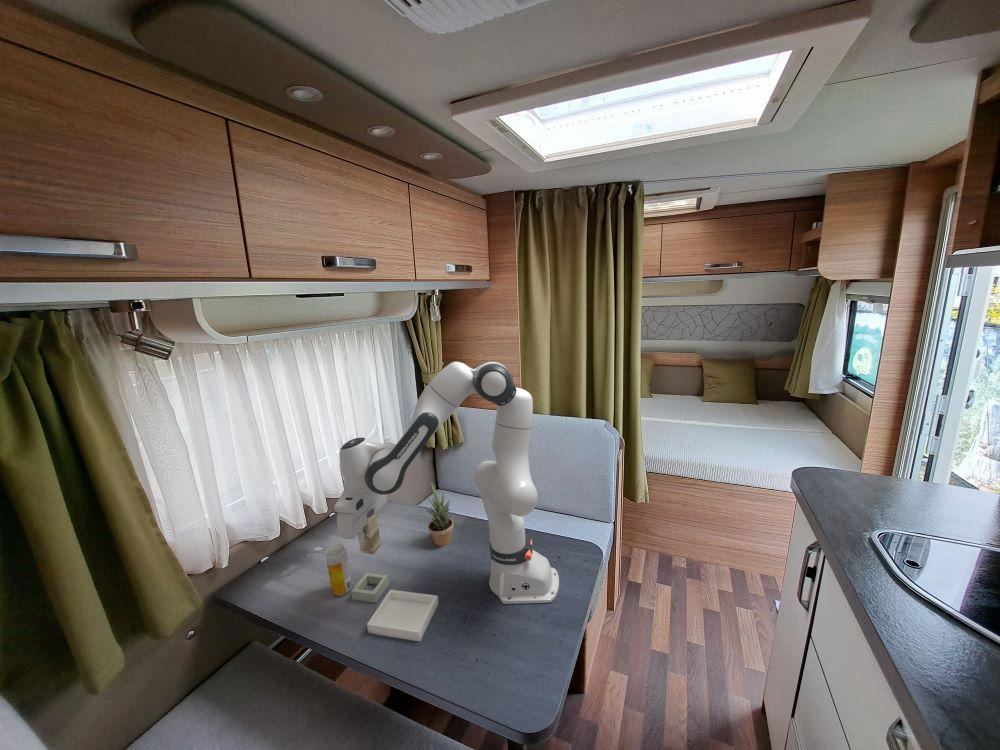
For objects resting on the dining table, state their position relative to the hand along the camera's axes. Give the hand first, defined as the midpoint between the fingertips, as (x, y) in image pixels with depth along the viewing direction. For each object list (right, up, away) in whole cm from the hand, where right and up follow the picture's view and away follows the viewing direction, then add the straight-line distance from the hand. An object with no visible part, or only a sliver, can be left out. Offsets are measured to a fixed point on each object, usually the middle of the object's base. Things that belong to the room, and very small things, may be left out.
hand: (368, 532), depth 116 cm
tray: (+12, -23, -4) cm, 27 cm away
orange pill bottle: (-11, -22, +8) cm, 26 cm away
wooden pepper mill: (0, -5, +1) cm, 6 cm away
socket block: (-1, -22, +7) cm, 23 cm away
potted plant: (+18, -16, +30) cm, 38 cm away
